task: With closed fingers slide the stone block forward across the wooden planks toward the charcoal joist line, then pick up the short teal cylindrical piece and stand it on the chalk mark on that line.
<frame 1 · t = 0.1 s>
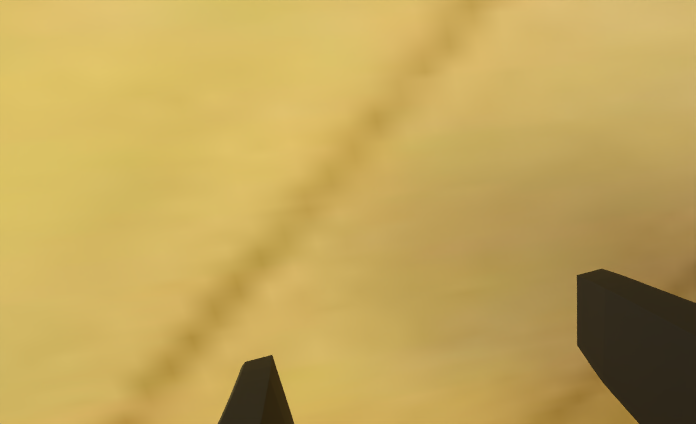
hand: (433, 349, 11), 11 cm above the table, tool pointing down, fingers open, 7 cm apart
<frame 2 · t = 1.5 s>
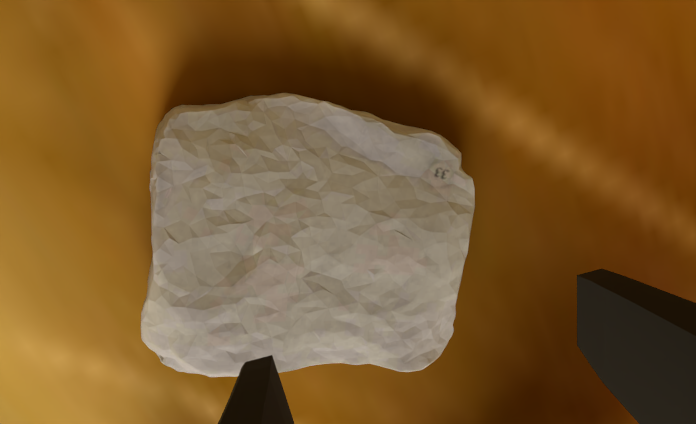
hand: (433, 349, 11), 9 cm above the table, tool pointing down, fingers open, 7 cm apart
stone block: (307, 213, 20), on the table
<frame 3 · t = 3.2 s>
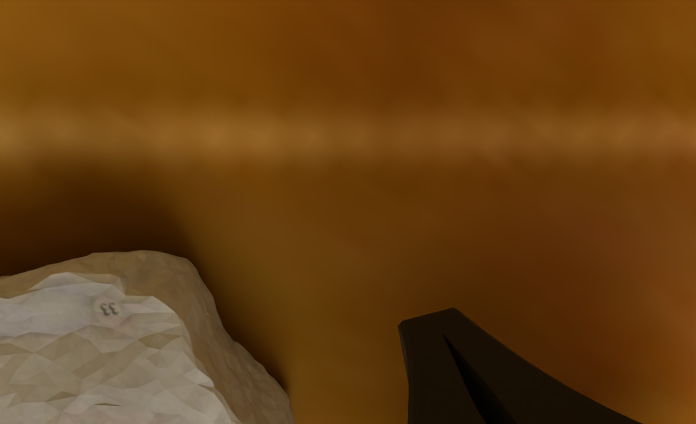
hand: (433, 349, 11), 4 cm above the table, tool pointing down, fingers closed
stone block: (68, 376, 16), on the table
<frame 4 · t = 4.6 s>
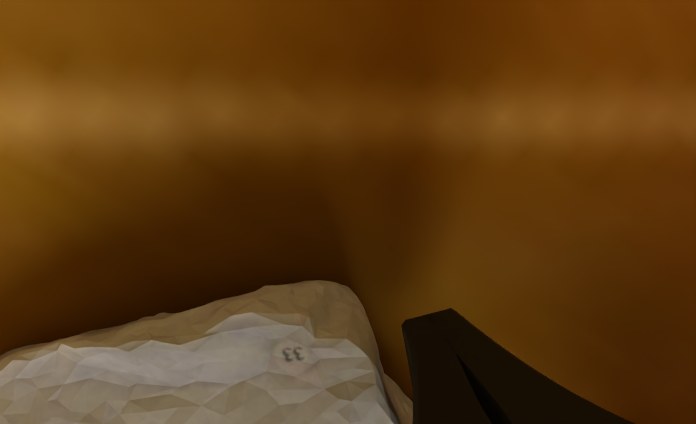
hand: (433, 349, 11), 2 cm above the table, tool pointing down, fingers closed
stone block: (196, 417, 14), on the table, touching gripper
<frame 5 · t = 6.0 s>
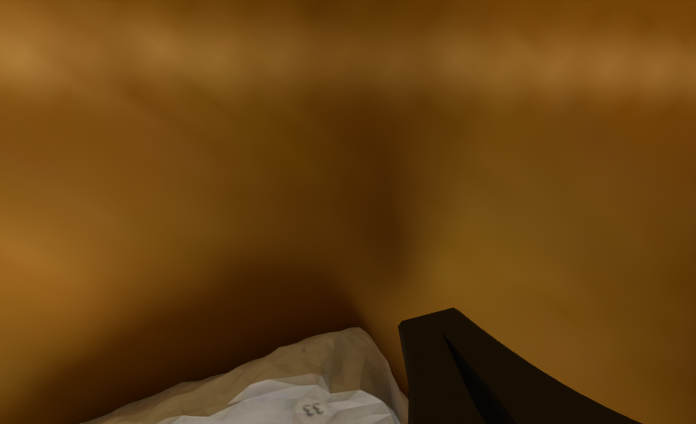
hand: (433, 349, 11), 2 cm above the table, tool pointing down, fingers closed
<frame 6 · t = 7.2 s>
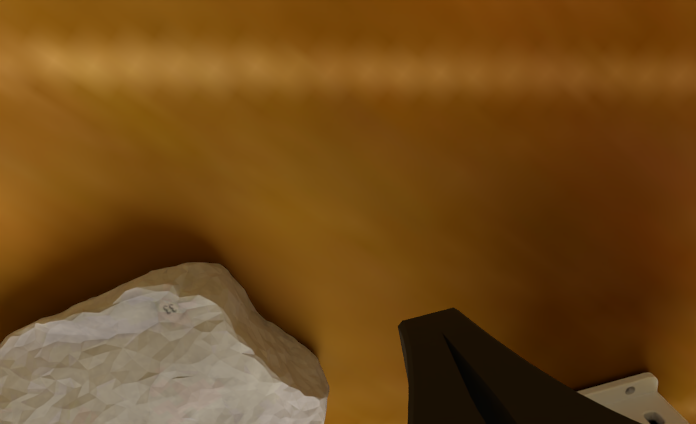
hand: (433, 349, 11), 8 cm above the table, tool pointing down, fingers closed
stone block: (148, 366, 21), on the table
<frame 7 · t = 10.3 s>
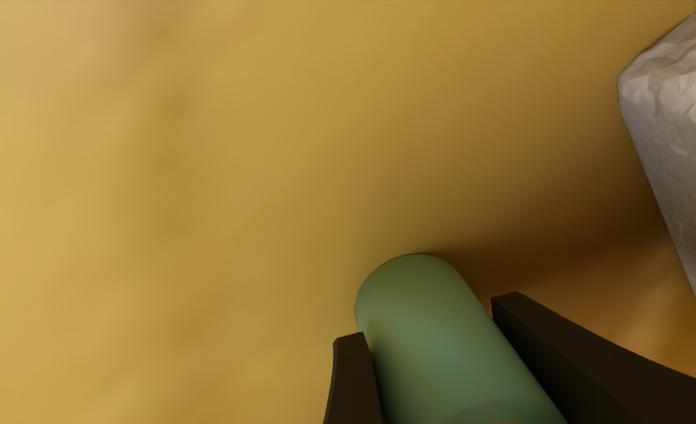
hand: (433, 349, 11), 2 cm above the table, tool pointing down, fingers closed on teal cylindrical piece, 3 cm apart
teal cylindrical piece: (411, 305, 13), on the table, touching gripper
when the fingers open (3 cm above the table, at t = 13.3 s): teal cylindrical piece stays where it is, resting on joist line.
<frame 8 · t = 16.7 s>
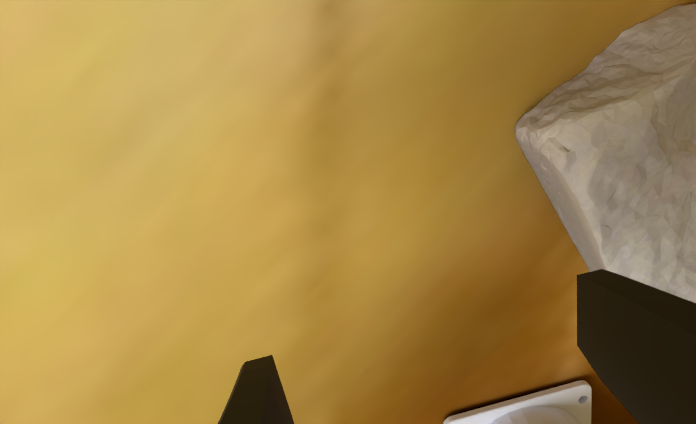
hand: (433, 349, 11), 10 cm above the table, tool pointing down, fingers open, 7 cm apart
stone block: (645, 156, 23), on the table
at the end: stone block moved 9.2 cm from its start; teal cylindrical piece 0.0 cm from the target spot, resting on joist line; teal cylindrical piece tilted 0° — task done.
